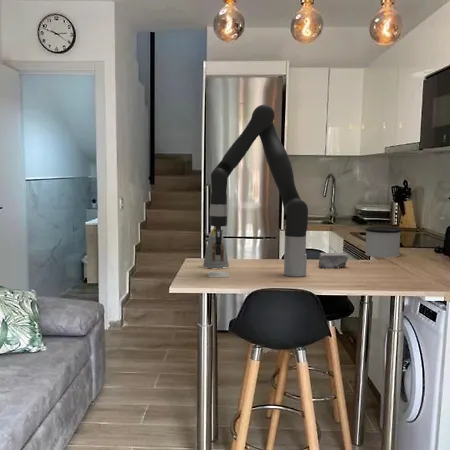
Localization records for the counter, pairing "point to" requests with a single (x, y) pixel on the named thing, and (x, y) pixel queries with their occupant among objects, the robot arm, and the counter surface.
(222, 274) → the felt pad
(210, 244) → the soap bottle
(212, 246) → the wooden pronged block
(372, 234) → the container
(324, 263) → the decorative stone
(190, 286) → the counter surface
